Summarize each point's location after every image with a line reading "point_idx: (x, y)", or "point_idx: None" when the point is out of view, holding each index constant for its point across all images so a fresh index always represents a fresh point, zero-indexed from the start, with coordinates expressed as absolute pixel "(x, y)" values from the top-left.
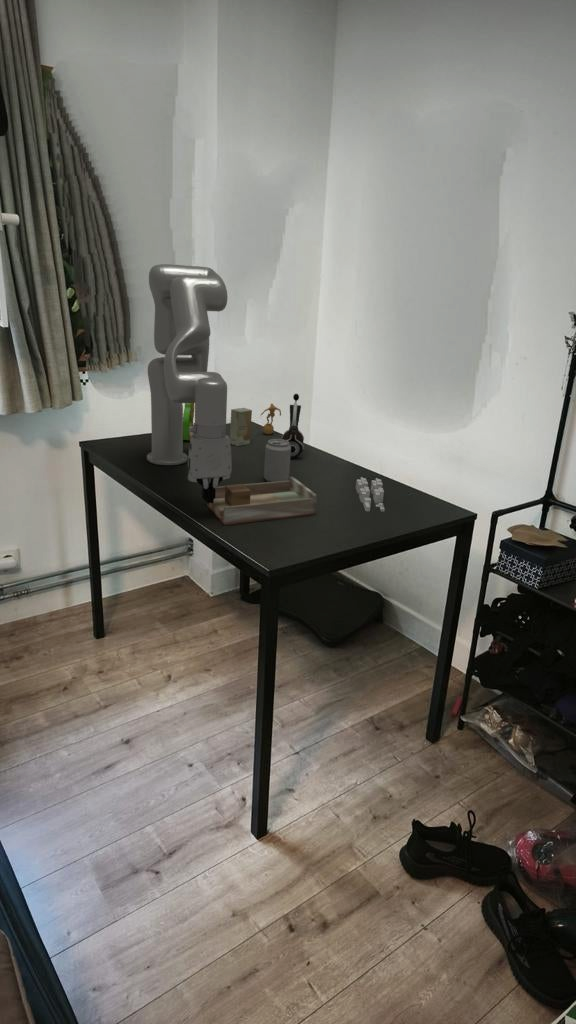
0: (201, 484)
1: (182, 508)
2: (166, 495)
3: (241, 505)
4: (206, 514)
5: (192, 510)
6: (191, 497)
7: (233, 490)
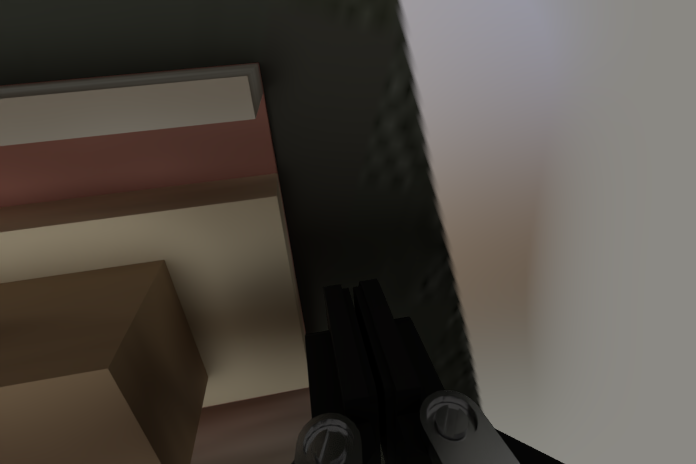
0: (509, 447)
1: (447, 342)
2: None
3: (5, 129)
4: (346, 264)
5: None
6: None
7: (87, 411)
